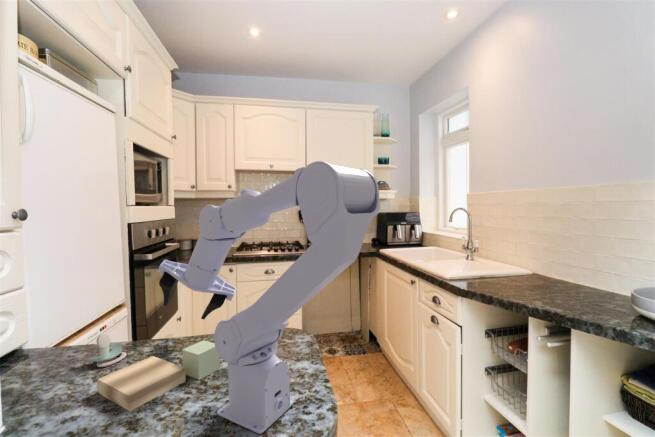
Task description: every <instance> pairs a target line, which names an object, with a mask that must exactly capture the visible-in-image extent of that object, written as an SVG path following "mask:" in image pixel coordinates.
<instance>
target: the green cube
mask: <svg viewBox="0 0 655 437" xmlns="http://www.w3.org/2000/svg"><path fill="white" fill-rule="evenodd" d="M181 353H182V355H181V356H182V367H184V368H185V376H188V377H191V378H193V379H196V380H198V381H200V380H202V379H204V378H205V377H207V376H209V375H212V373H214V372H216V371H218V370H220V369H221V357H220V356H219V354H218V352H217V350H216V348H215V343H214V342H211V341H208V340H203V339H202V340H201V341H198V342H196V343H194V344H191V345H190V346H188V347H185V348H183V349H182V352H181Z"/></svg>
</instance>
